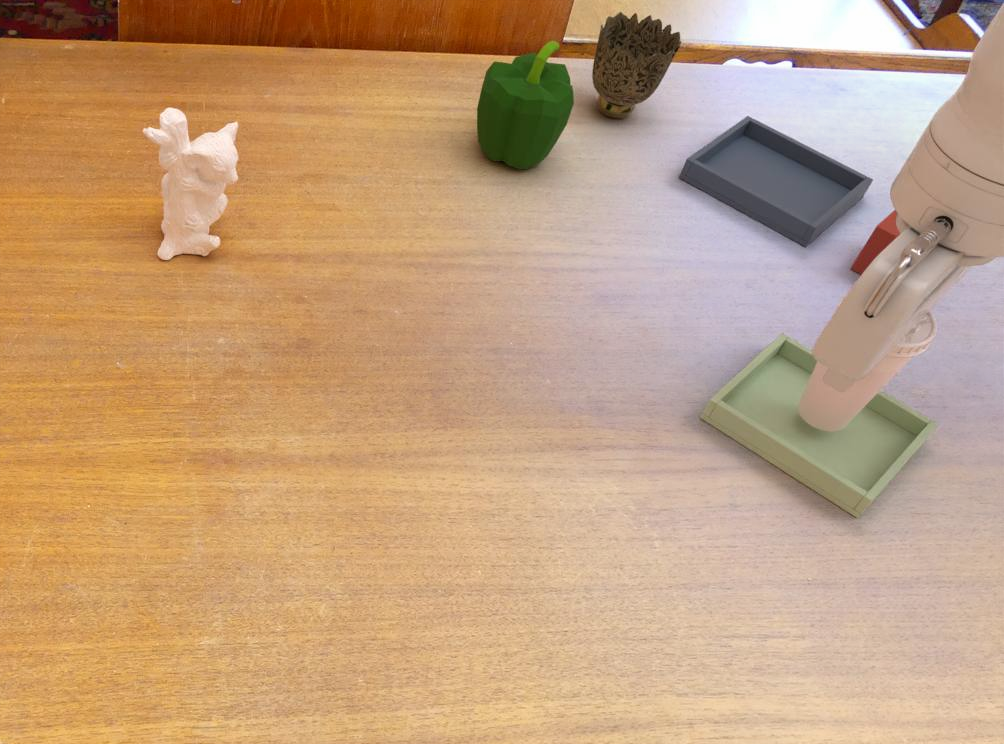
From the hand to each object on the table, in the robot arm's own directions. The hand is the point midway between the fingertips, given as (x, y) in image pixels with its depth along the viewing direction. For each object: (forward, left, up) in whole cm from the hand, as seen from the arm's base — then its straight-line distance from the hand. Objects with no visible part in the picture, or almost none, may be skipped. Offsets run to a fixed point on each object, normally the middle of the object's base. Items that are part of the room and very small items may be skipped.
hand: (861, 357), depth 79 cm
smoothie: (0, 0, -6) cm, 6 cm away
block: (+5, -23, -7) cm, 25 cm away
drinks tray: (0, 0, -7) cm, 7 cm away
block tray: (+18, -26, -7) cm, 32 cm away
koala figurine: (+47, +21, -8) cm, 52 cm away
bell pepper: (+37, -11, -8) cm, 39 cm away
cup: (+35, -25, -8) cm, 44 cm away
